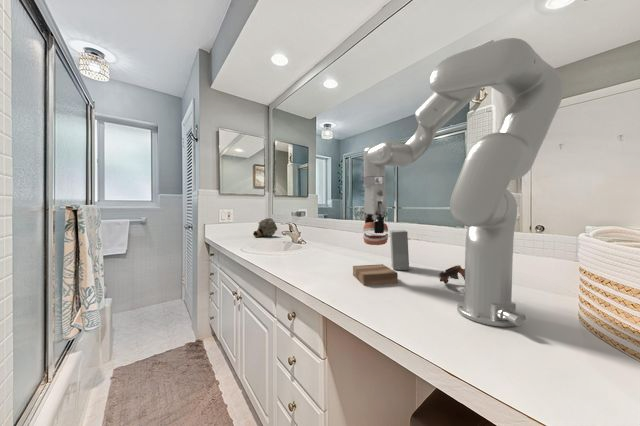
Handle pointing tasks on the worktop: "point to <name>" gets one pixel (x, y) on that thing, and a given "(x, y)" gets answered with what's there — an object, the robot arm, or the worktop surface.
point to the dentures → (374, 238)
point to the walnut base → (375, 274)
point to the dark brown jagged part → (451, 273)
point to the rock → (265, 228)
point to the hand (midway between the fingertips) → (373, 231)
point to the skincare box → (399, 249)
